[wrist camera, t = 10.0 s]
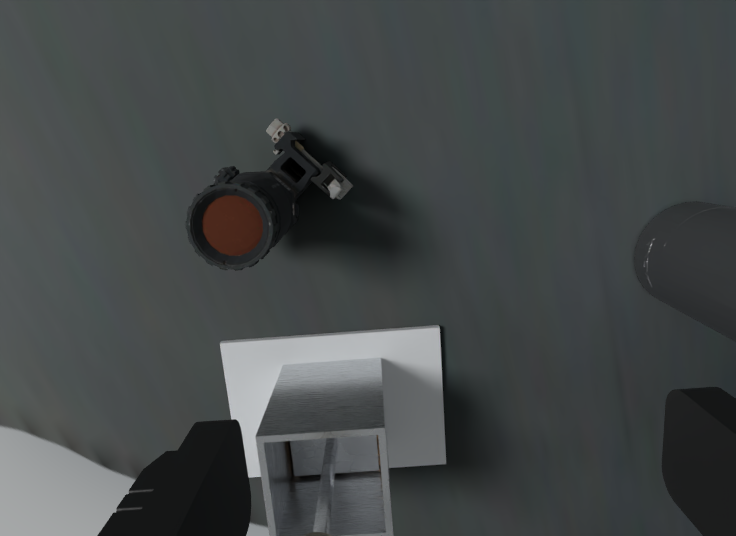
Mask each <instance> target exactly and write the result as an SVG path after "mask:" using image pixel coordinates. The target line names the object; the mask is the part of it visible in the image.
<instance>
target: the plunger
mask: <svg viewBox="0 0 736 536" xmlns="http://www.w3.org/2000/svg"><path fill="white" fill-rule="evenodd" d="M290 445H291V452H292V460H293V468H294V476H303V475H318V474H321V479H320V486H319V493H318V500H317V507H316V514H315V521H314V528H313V532H311V533H308V534H305V535H303V536H332V535H330V534H329V525H330V516H331V506H332V496H333V486H334V477H335V473H348V472H362V471H377V470H379V460H378V448H377V436H376V435H367V436H353V437H338V438H324V439H309V440H295V441H290Z"/></svg>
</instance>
